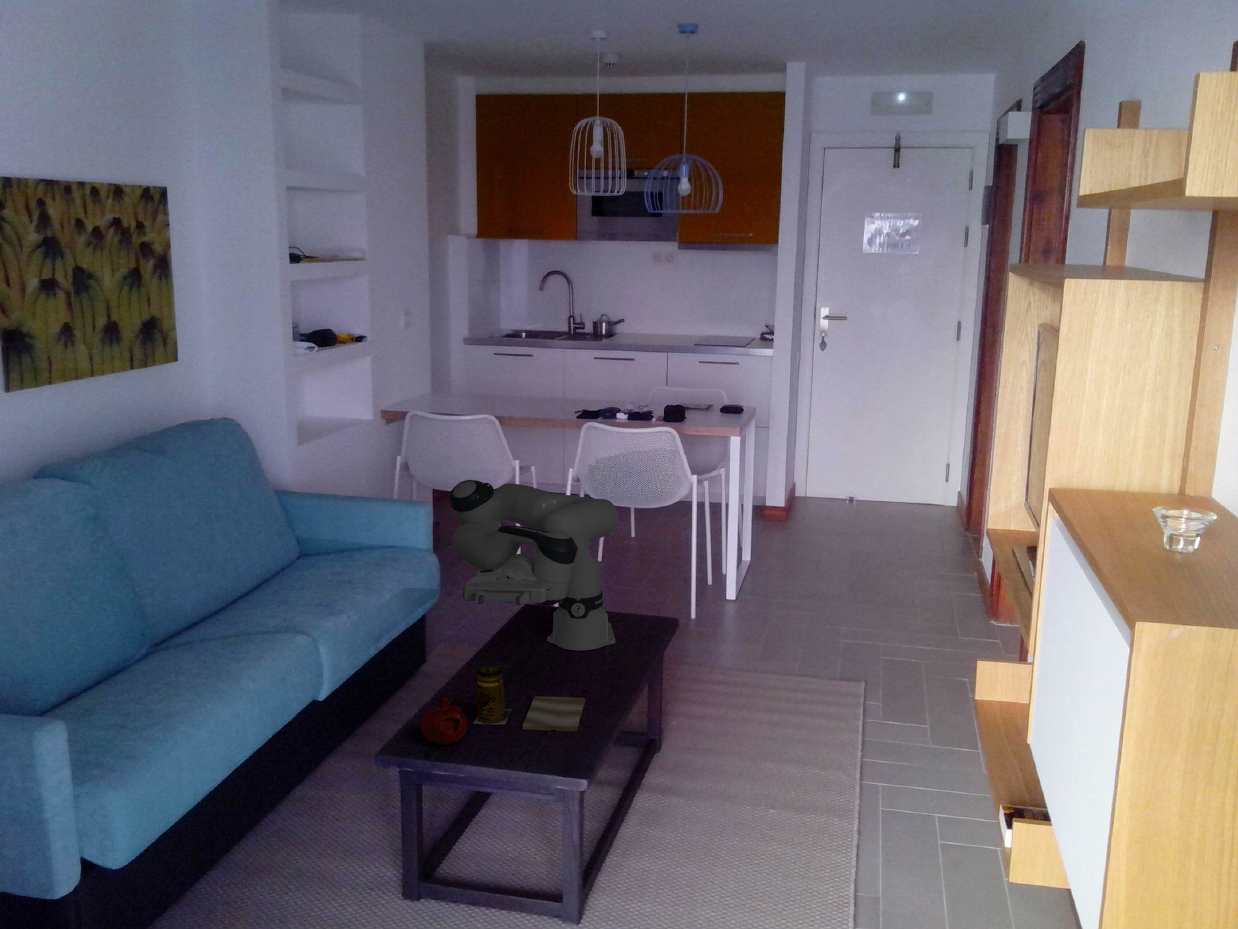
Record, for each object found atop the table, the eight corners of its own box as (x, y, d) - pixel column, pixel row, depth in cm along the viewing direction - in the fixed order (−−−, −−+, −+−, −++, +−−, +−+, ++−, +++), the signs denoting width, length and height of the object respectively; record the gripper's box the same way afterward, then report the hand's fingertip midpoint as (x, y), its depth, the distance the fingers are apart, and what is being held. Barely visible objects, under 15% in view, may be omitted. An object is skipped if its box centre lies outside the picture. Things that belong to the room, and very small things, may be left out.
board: (534, 700, 248) (534, 696, 247) (585, 702, 247) (585, 698, 246) (522, 729, 232) (522, 725, 232) (576, 731, 231) (576, 727, 231)
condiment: (472, 724, 235) (471, 673, 233) (481, 709, 243) (479, 660, 241) (504, 725, 234) (503, 674, 232) (512, 710, 242) (510, 661, 240)
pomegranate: (412, 744, 225) (410, 704, 224) (440, 726, 234) (437, 687, 232) (451, 752, 221) (448, 711, 219) (477, 733, 230) (475, 693, 228)
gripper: (552, 597, 258) (542, 615, 245) (470, 595, 260) (457, 613, 247) (551, 572, 257) (542, 589, 244) (470, 570, 259) (456, 587, 245)
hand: (498, 601), depth 245 cm, fingers open, 8 cm apart
